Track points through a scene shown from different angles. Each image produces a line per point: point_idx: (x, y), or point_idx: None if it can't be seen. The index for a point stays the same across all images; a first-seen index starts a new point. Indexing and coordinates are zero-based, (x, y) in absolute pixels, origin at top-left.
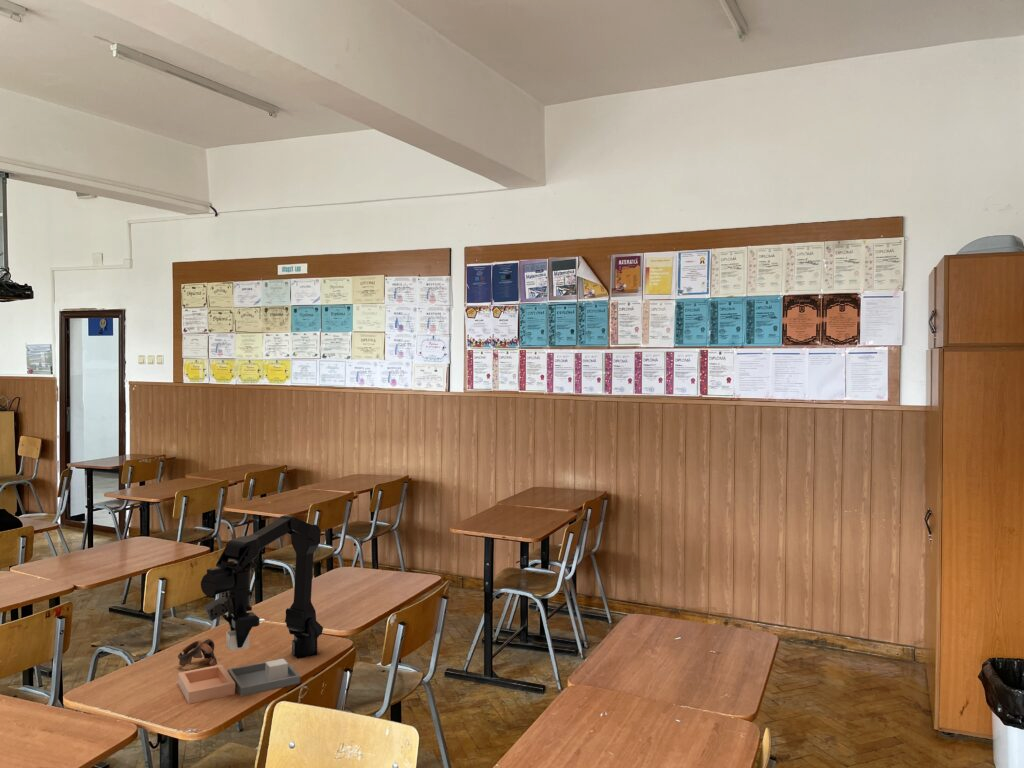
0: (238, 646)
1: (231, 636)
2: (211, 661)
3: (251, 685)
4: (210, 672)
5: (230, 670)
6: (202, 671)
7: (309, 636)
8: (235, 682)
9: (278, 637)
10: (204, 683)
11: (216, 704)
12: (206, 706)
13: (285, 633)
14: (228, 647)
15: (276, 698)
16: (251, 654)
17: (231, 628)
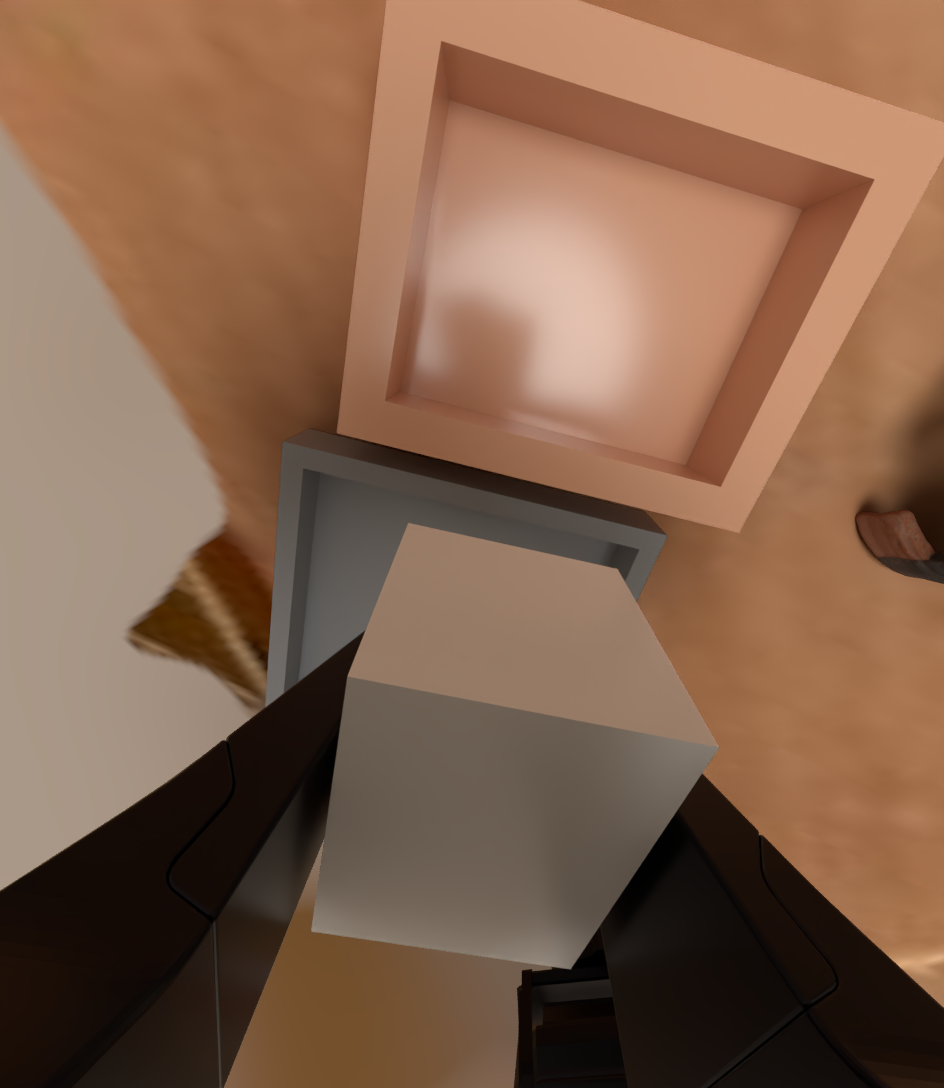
0: (352, 643)
1: (347, 691)
2: (910, 532)
3: (290, 514)
4: (732, 423)
5: (628, 537)
6: (774, 360)
7: (527, 987)
8: (445, 476)
9: (861, 884)
10: (675, 345)
11: (314, 252)
12: (324, 170)
13: (867, 914)
14: (489, 554)
15: (196, 566)
16: (815, 740)
17: (715, 884)
